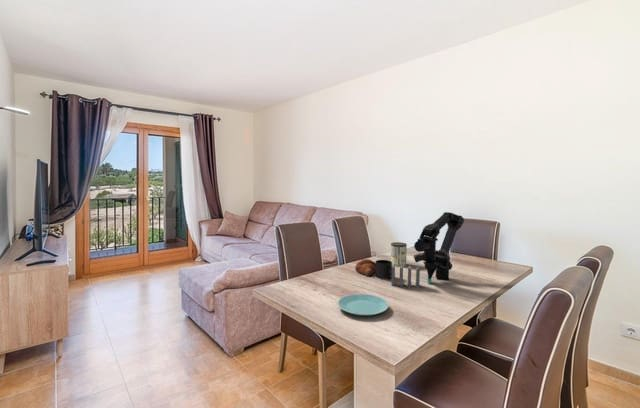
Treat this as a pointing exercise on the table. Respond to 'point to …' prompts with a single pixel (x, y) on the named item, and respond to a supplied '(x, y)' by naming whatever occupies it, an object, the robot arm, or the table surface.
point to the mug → (383, 269)
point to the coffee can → (398, 253)
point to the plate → (363, 304)
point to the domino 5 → (428, 280)
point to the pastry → (365, 267)
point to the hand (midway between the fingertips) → (429, 277)
